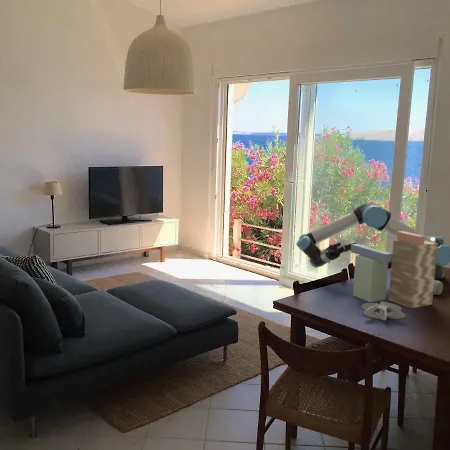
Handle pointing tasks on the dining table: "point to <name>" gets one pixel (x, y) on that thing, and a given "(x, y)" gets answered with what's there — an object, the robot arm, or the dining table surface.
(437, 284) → the ceramic mug
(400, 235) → the terracotta bar
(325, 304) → the dining table surface
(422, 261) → the birch stand
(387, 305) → the sculpture
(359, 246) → the slate bar
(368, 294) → the pale green pillar
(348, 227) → the robot arm
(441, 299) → the dining table surface
